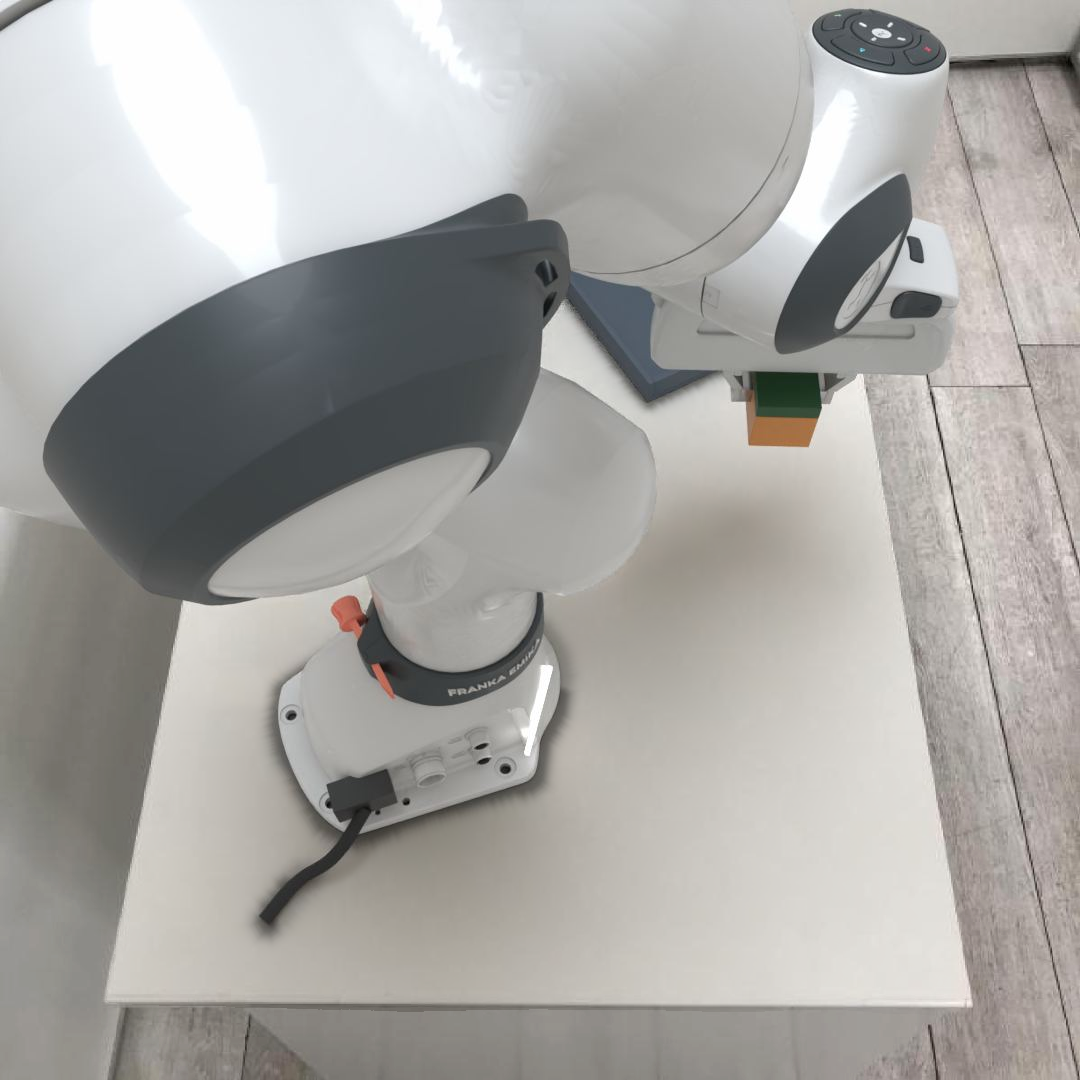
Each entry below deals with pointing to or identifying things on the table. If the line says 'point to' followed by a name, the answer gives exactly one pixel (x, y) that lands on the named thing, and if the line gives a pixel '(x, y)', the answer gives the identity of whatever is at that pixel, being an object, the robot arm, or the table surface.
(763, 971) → the table surface
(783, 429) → the sponge
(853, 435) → the table surface
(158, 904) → the table surface
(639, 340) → the tray
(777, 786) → the table surface
